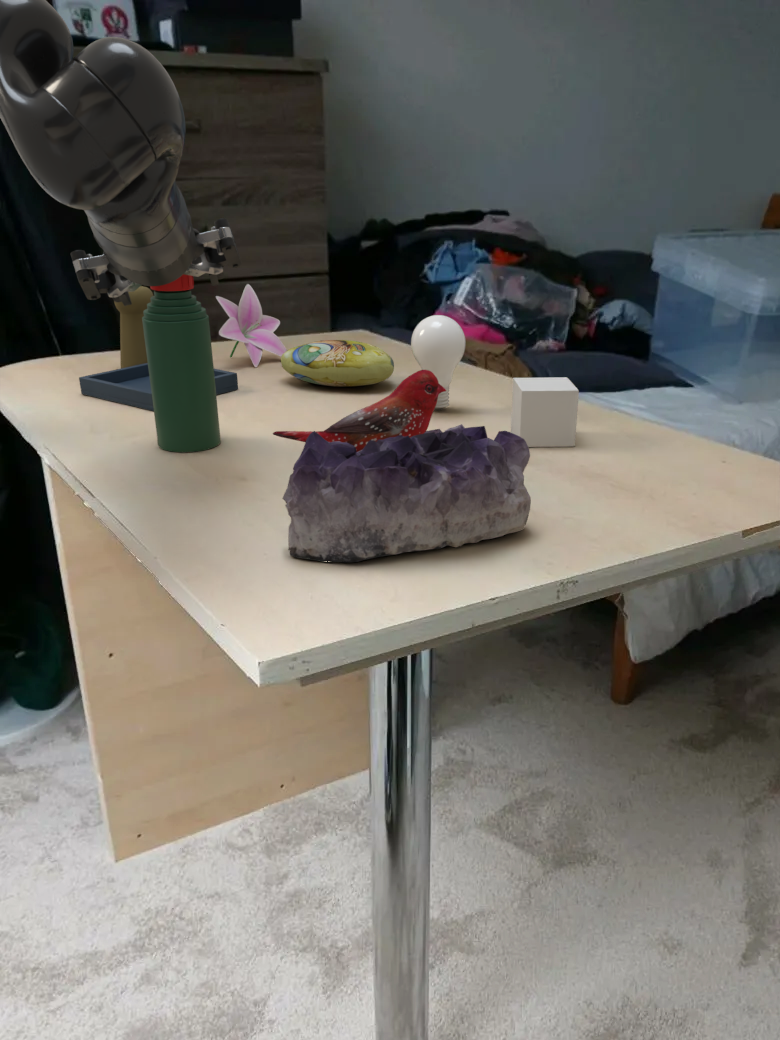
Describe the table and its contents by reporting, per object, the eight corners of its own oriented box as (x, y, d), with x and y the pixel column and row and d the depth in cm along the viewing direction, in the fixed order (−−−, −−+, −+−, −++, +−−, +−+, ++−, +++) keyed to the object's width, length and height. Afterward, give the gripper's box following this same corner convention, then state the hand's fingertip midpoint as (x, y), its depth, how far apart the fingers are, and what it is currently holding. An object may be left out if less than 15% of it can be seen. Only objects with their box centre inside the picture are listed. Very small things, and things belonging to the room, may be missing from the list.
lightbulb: (472, 406, 114) (474, 313, 109) (450, 419, 109) (452, 321, 104) (425, 400, 117) (425, 309, 112) (402, 412, 111) (401, 317, 106)
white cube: (563, 430, 105) (567, 377, 103) (574, 446, 100) (579, 390, 97) (510, 431, 105) (512, 377, 102) (519, 447, 100) (522, 390, 97)
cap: (169, 292, 90) (165, 250, 88) (141, 288, 92) (136, 247, 90) (203, 287, 93) (199, 246, 91) (174, 284, 95) (170, 244, 93)
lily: (208, 378, 130) (232, 318, 125) (186, 331, 137) (208, 272, 132) (285, 394, 138) (311, 338, 133) (260, 348, 144) (284, 294, 139)
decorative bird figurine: (453, 473, 92) (454, 369, 87) (283, 505, 83) (276, 392, 79) (437, 465, 94) (438, 364, 89) (271, 495, 85) (262, 385, 81)
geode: (322, 591, 67) (302, 453, 64) (271, 554, 77) (252, 433, 74) (557, 532, 76) (551, 408, 73) (484, 505, 86) (476, 395, 82)
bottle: (187, 456, 95) (164, 257, 87) (145, 445, 98) (119, 252, 90) (233, 441, 100) (216, 252, 92) (192, 431, 103) (172, 247, 95)
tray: (153, 411, 111) (151, 393, 110) (81, 394, 117) (78, 377, 116) (238, 389, 121) (237, 372, 120) (167, 374, 127) (165, 359, 127)
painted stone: (376, 379, 116) (271, 325, 117) (362, 429, 121) (263, 377, 123) (413, 345, 123) (315, 295, 125) (399, 393, 129) (305, 345, 130)
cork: (161, 363, 134) (151, 282, 129) (169, 371, 129) (159, 288, 124) (117, 366, 131) (105, 284, 127) (124, 375, 127) (112, 290, 122)
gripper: (216, 158, 76) (230, 231, 92) (37, 195, 74) (83, 263, 90) (242, 249, 77) (252, 306, 93) (66, 289, 74) (106, 340, 90)
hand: (169, 285), depth 91 cm, fingers open, 8 cm apart
